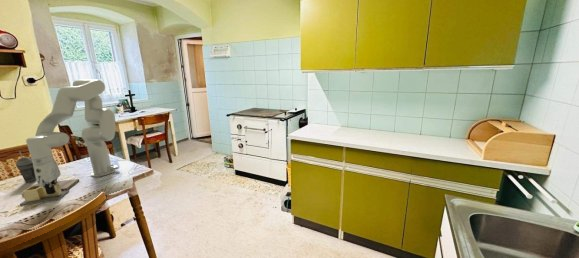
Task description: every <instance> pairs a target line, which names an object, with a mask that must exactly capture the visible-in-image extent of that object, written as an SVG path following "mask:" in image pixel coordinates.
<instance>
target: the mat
mask: <svg viewBox="0 0 579 258" xmlns="http://www.w3.org/2000/svg"><path fill="white" fill-rule="evenodd" d="M61 192H62V194H61V195H59V196H53V197H47V198H42V199H41V200H37V201H31V202H26V201H25V200H23V201H22V202H21V203H19V206H27V205H34V204H42V203H50V202H55V201H60V200H61V199H62V198H63V197H64V196H66V195H68V194H69V192H70V190H67V191H61Z"/></svg>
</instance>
